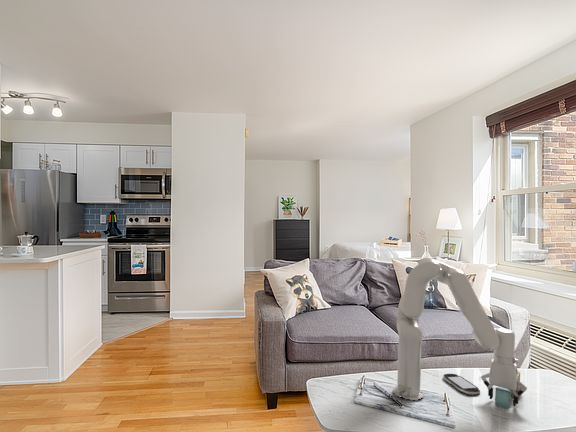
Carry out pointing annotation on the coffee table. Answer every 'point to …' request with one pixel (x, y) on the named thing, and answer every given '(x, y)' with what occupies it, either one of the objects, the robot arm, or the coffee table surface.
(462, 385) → the gaming console
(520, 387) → the tower bottom
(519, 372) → the tower top
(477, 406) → the coffee table surface
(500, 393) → the teal rounded tapered object
